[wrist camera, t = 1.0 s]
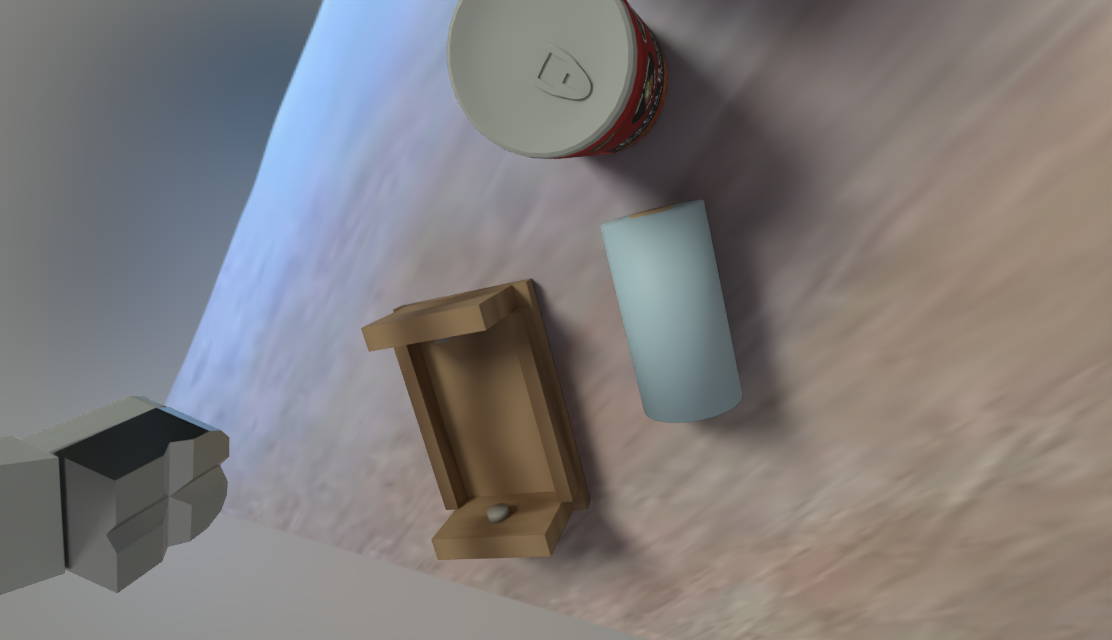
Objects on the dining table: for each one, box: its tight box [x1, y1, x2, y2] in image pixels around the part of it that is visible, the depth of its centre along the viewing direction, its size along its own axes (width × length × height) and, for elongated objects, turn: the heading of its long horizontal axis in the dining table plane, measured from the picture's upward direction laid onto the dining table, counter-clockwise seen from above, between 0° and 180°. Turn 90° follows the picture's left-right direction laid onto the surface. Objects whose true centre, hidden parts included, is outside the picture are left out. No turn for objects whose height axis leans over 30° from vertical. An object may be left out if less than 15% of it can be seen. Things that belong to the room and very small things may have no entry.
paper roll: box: [600, 200, 742, 423], centre depth 33 cm, size 6×11×6 cm, turn 15°
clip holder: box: [361, 279, 590, 560], centre depth 38 cm, size 10×16×6 cm, turn 15°
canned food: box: [447, 0, 667, 159], centre depth 28 cm, size 8×8×11 cm
